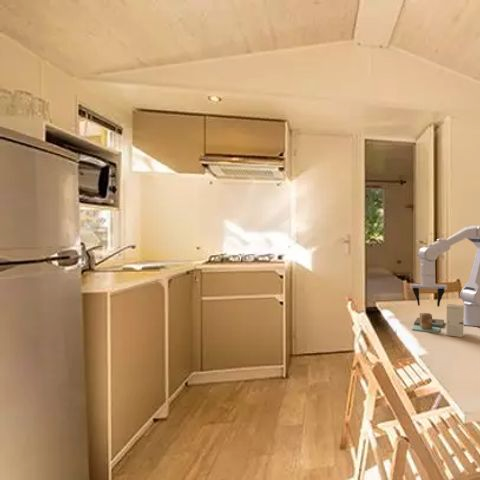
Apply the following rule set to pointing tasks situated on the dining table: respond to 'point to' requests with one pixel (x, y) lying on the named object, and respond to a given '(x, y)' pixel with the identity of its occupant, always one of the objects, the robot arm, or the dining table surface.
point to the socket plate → (435, 322)
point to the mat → (434, 329)
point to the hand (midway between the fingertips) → (428, 305)
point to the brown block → (426, 321)
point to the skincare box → (455, 320)
